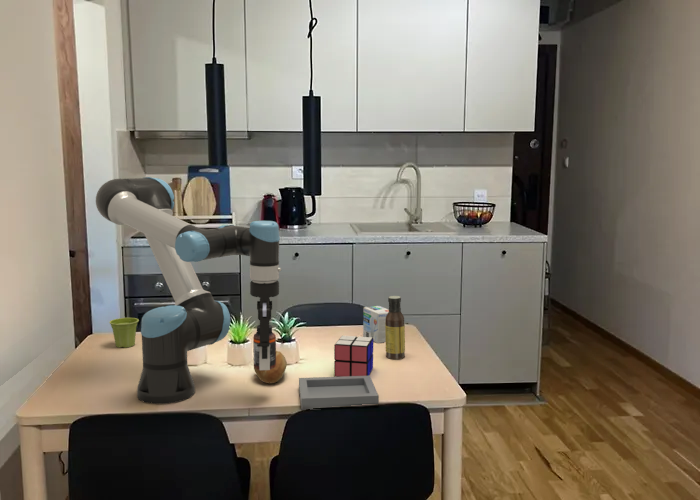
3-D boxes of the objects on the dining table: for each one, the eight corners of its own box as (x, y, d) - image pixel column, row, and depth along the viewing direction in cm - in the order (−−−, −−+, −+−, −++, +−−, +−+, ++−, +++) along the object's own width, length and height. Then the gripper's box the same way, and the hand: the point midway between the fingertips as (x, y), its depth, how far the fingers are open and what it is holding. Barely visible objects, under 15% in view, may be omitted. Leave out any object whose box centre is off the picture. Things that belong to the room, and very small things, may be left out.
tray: (301, 409, 172) (301, 398, 172) (298, 388, 188) (298, 377, 188) (378, 406, 175) (378, 395, 174) (369, 385, 190) (369, 375, 190)
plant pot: (105, 345, 228) (104, 320, 227) (130, 340, 235) (129, 316, 234) (119, 351, 222) (118, 325, 221) (145, 345, 229) (144, 320, 228)
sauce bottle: (399, 353, 221) (400, 294, 219) (408, 358, 216) (409, 297, 213) (381, 355, 219) (382, 295, 216) (390, 361, 213) (391, 299, 210)
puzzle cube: (367, 379, 196) (367, 346, 195) (334, 377, 198) (334, 344, 197) (373, 368, 206) (373, 337, 204) (341, 366, 208) (341, 335, 206)
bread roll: (252, 387, 189) (252, 359, 188) (254, 370, 204) (254, 344, 203) (287, 386, 190) (286, 358, 189) (286, 369, 205) (286, 344, 204)
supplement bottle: (263, 362, 183) (263, 321, 182) (280, 366, 180) (280, 325, 178) (248, 367, 178) (248, 326, 177) (265, 372, 175) (265, 330, 173)
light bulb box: (362, 336, 242) (362, 307, 240) (378, 334, 245) (378, 305, 243) (377, 343, 233) (377, 313, 231) (394, 341, 236) (394, 311, 234)
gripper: (279, 287, 167) (279, 377, 170) (278, 273, 185) (278, 354, 189) (248, 288, 166) (249, 378, 169) (251, 273, 184) (251, 355, 188)
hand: (264, 365), depth 179 cm, fingers closed on supplement bottle, 6 cm apart
